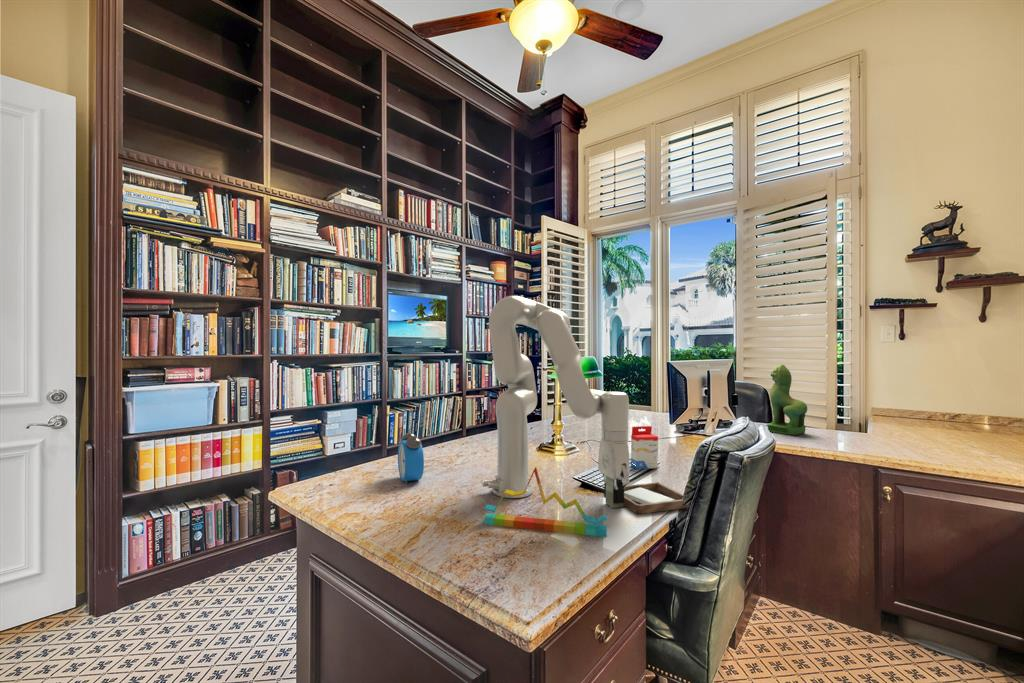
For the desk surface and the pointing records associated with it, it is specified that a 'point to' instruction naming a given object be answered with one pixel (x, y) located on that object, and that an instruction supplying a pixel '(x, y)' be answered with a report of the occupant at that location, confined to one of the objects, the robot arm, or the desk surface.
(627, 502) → the sliding frame
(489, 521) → the chart
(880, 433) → the desk surface
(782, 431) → the lion statue
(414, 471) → the alarm clock
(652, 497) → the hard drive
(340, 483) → the desk surface
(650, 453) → the ink box
